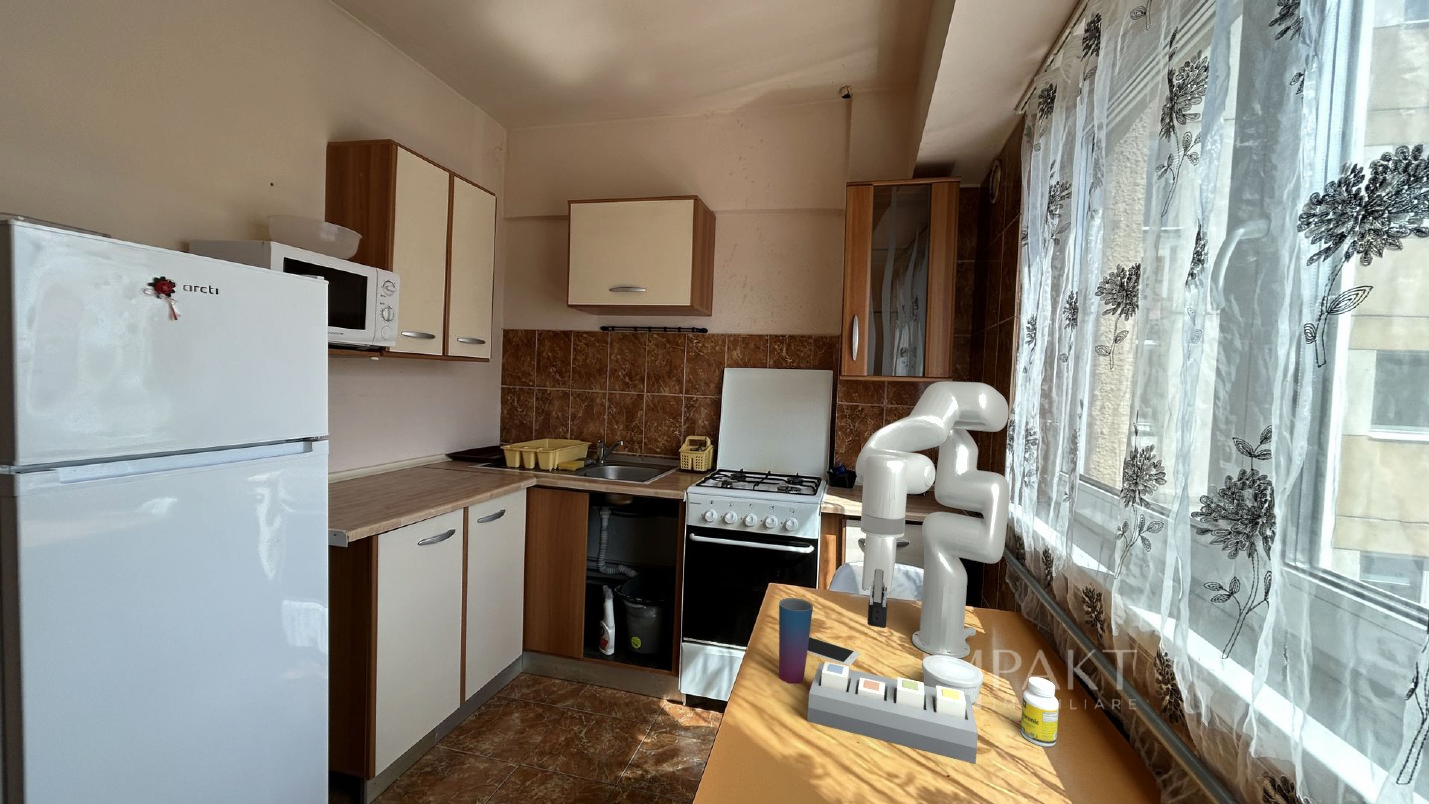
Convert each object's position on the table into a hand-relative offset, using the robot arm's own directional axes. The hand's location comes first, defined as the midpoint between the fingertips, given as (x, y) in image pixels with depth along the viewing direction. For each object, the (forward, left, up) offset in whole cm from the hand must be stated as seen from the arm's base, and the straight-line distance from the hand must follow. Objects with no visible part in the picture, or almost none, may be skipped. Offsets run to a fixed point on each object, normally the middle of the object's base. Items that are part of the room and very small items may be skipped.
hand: (876, 624), depth 100 cm
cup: (+6, -16, -17) cm, 24 cm away
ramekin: (-21, 0, -17) cm, 27 cm away
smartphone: (-8, -25, -17) cm, 31 cm away
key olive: (-4, +5, -12) cm, 14 cm away
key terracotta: (0, 0, -14) cm, 14 cm away
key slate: (+5, -4, -12) cm, 14 cm away
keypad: (-2, +3, -17) cm, 17 cm away
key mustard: (-9, +9, -12) cm, 18 cm away
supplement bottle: (-24, +16, -17) cm, 33 cm away
